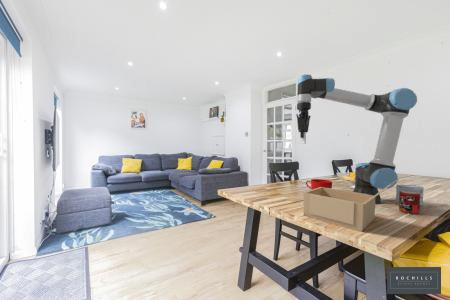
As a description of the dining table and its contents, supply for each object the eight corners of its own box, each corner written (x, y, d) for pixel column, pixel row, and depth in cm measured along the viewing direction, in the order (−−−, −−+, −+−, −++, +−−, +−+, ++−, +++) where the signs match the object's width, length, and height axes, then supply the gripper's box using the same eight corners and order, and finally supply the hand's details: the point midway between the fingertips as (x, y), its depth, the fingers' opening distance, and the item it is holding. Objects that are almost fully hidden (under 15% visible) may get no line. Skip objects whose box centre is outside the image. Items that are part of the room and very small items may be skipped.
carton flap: (390, 184, 76) (391, 184, 75) (398, 178, 89) (399, 179, 88) (363, 203, 82) (364, 204, 81) (375, 195, 95) (376, 196, 95)
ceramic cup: (310, 191, 151) (310, 177, 150) (335, 196, 138) (335, 181, 138) (301, 194, 142) (301, 179, 142) (327, 199, 129) (327, 183, 129)
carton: (302, 215, 99) (302, 192, 99) (320, 206, 114) (321, 186, 113) (361, 232, 81) (362, 204, 81) (374, 219, 96) (375, 195, 95)
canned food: (394, 209, 110) (395, 189, 110) (408, 209, 111) (409, 189, 111) (408, 214, 103) (409, 192, 102) (423, 214, 103) (424, 192, 103)
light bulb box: (414, 202, 126) (414, 184, 126) (423, 205, 120) (424, 186, 119) (395, 201, 127) (395, 183, 127) (403, 204, 121) (404, 186, 120)
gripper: (303, 105, 128) (302, 143, 129) (292, 102, 119) (291, 143, 120) (315, 103, 122) (314, 143, 123) (304, 100, 114) (303, 143, 114)
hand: (302, 143), depth 121 cm, fingers closed
